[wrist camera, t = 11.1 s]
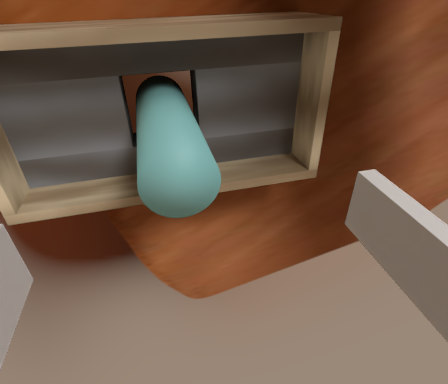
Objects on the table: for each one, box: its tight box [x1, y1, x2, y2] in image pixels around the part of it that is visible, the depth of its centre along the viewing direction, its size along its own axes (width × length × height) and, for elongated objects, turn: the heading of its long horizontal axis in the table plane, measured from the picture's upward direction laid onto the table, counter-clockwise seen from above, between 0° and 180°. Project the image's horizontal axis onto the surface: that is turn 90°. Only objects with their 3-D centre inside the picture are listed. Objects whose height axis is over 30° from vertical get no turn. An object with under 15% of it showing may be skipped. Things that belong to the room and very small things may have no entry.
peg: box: [136, 76, 221, 218], centre depth 20 cm, size 4×4×14 cm
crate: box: [0, 11, 343, 225], centre depth 23 cm, size 12×24×6 cm, turn 92°
